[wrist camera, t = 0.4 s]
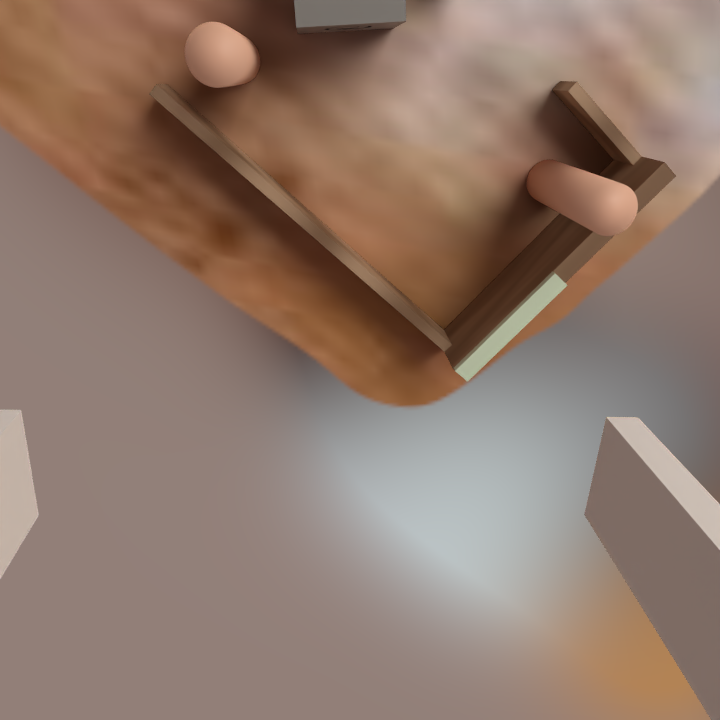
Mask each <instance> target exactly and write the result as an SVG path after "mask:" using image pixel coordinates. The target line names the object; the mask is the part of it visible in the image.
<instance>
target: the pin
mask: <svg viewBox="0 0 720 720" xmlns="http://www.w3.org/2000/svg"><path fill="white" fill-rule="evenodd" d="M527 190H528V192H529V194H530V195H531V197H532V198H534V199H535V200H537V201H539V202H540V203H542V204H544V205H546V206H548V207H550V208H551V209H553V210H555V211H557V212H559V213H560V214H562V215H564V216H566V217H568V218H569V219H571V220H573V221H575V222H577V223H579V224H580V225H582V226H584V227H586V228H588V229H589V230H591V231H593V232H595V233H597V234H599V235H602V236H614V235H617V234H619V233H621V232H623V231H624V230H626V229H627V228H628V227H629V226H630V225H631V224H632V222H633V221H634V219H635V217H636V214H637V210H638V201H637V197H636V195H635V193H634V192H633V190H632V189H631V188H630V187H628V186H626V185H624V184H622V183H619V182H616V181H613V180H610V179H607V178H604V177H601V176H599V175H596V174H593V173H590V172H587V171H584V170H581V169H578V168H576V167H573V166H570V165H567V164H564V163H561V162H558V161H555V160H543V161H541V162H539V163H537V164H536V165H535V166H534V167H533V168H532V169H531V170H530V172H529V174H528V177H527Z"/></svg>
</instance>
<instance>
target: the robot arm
mask: <svg viewBox="0 0 720 720" xmlns="http://www.w3.org/2000/svg"><path fill="white" fill-rule="evenodd" d="M38 515H39V514H38V508H37V502H36V496H35V490H34V484H33V478H32V472H31V466H30V461H29V454H28V448H27V442H26V436H25V430H24V424H23V418H22V412H21V410H0V579H1V577H2V576H3V574H4V572H5V571H6V569H7V567H8V566H9V564H10V562H11V561H12V559H13V557H14V555H15V554H16V552H17V550H18V549H19V547H20V545H21V544H22V542H23V540H24V539H25V537H26V535H27V534H28V532H29V530H30V529H31V527H32V525H33V524H34V522H35V520H36V519H37V517H38ZM585 516H586V518H587V520H588V521H589V522H590V524H591V526H592V527H593V529H594V531H595V533H596V534H597V536H598V537H599V539H600V541H601V542H602V543H603V545H604V547H605V548H606V550H607V552H608V553H609V555H610V557H611V558H612V560H613V562H614V563H615V565H616V566H617V568H618V570H619V571H620V573H621V574H622V576H623V578H624V579H625V581H626V583H627V584H628V586H629V587H630V589H631V591H632V592H633V594H634V596H635V597H636V599H637V600H638V602H639V604H640V605H641V607H642V608H643V610H644V612H645V613H646V615H647V616H648V618H649V620H650V621H651V623H652V624H653V626H654V628H655V629H656V631H657V633H658V634H659V636H660V637H661V639H662V641H663V642H664V644H665V645H666V647H667V649H668V651H669V652H670V654H671V655H672V657H673V658H674V660H675V662H676V663H677V665H678V667H679V668H680V670H681V671H682V673H683V675H684V676H685V678H686V680H687V681H688V683H689V684H690V686H691V688H692V689H693V691H694V692H695V694H696V695H697V697H698V699H699V700H700V702H701V704H702V705H703V707H704V709H705V710H706V712H707V714H708V715H709V717H710V718H711V720H720V504H719V503H718V502H717V501H716V500H715V499H714V498H713V497H712V496H711V495H710V494H709V493H708V491H707V490H706V489H705V488H704V487H703V486H702V485H701V484H700V483H699V482H698V481H697V480H696V479H695V478H694V477H693V476H692V475H691V473H690V472H689V471H688V470H687V469H686V468H685V467H684V466H683V465H682V464H681V463H680V462H679V461H678V460H677V459H676V458H675V457H674V455H673V454H672V453H671V452H670V451H669V450H668V449H667V448H666V447H665V446H664V445H663V444H662V443H661V442H660V441H659V439H658V438H657V437H656V436H655V435H654V434H653V433H652V432H651V431H650V430H649V429H648V428H647V427H646V426H645V425H644V424H643V423H642V421H641V420H640V419H639V418H637V417H635V418H634V417H606V421H605V426H604V430H603V435H602V439H601V443H600V448H599V452H598V457H597V461H596V466H595V470H594V474H593V479H592V483H591V488H590V493H589V497H588V501H587V506H586V510H585Z"/></svg>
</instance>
